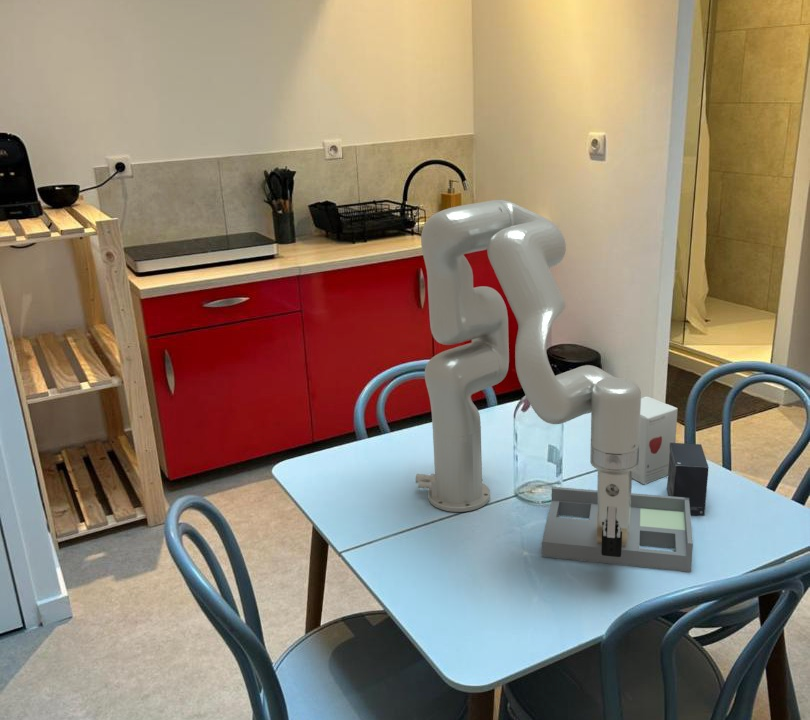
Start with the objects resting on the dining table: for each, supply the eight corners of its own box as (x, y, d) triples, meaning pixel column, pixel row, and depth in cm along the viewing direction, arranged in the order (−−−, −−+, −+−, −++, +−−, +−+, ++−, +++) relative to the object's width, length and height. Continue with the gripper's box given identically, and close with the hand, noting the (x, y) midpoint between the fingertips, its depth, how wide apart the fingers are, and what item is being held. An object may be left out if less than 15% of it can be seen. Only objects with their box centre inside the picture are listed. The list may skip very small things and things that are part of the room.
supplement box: (644, 485, 168) (647, 418, 163) (612, 469, 175) (614, 404, 171) (675, 473, 172) (679, 407, 167) (643, 458, 180) (646, 394, 175)
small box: (706, 516, 155) (710, 466, 152) (670, 515, 157) (673, 465, 153) (699, 490, 165) (702, 442, 162) (665, 488, 166) (668, 441, 163)
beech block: (596, 542, 143) (597, 512, 141) (599, 528, 148) (600, 498, 146) (626, 546, 142) (627, 515, 140) (628, 531, 146) (629, 501, 144)
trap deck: (541, 556, 145) (541, 529, 144) (551, 512, 160) (552, 486, 158) (690, 572, 139) (692, 543, 137) (687, 524, 153) (689, 497, 151)
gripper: (637, 477, 124) (633, 581, 130) (639, 437, 138) (635, 533, 144) (587, 473, 126) (585, 576, 132) (593, 434, 140) (591, 528, 146)
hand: (611, 553), depth 138 cm, fingers closed
